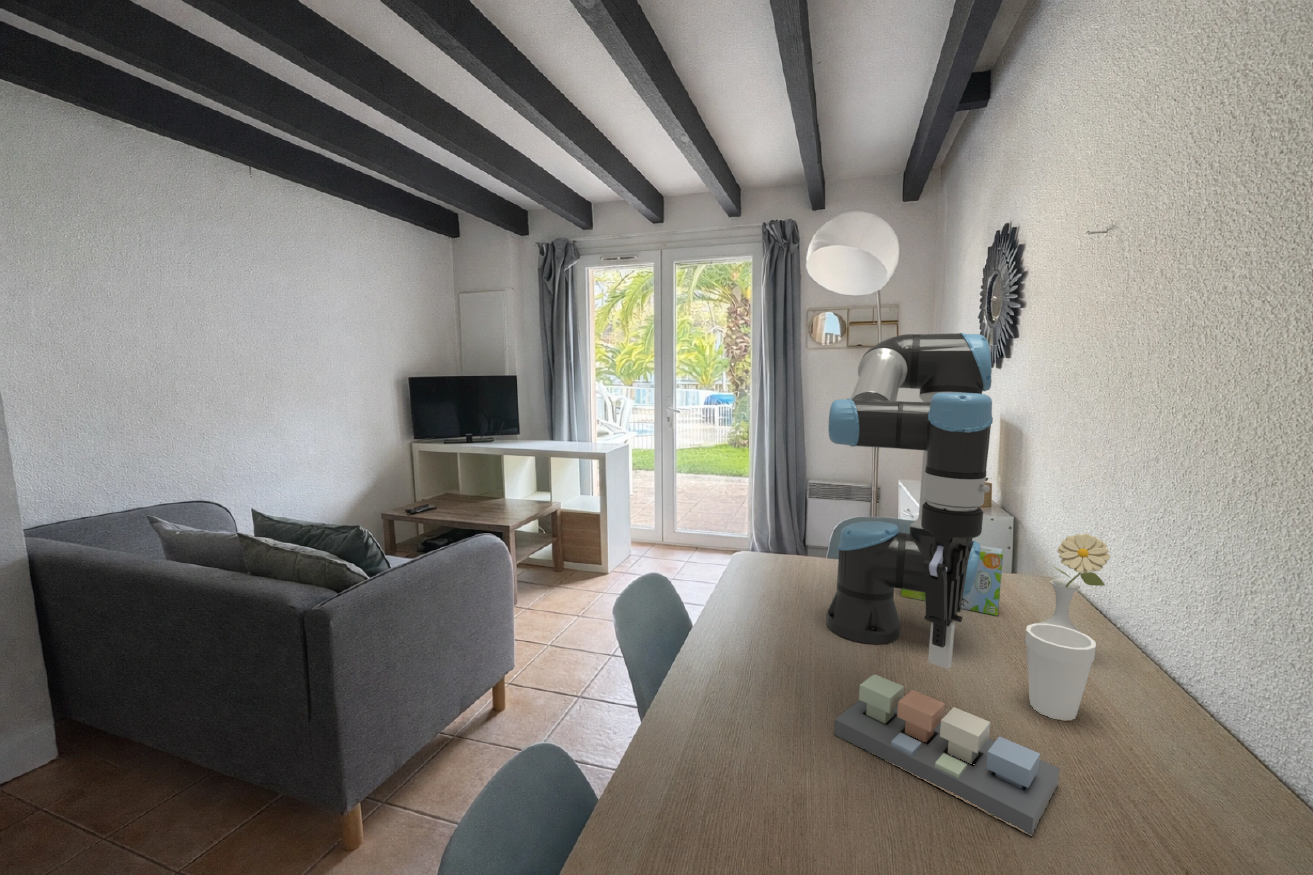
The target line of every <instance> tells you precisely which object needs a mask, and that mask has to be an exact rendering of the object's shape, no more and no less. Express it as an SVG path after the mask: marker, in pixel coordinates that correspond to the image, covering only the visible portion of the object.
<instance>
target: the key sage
mask: <svg viewBox="0 0 1313 875" xmlns="http://www.w3.org/2000/svg"><path fill="white" fill-rule="evenodd" d="M858 691H859V692H858V693H859V695H858V701H859V700H861V701H863V702H865V703H867V710H866V715H867V716H870V717H872V718H874V720H875V719H876V721H877V720H878V722H879V721H880V722H881V723H883V724H885V723H886V722H888V721H889V720H890V719H891V718H892V717H893V716H894V709H895V708H896V707H897V706H898V701H900V700H901V699H902V698H903V697H904V696H905V695H904V693H905V685H902V684H900V683H897V682H894V681H892V680H890V679H888V678H885V677H883V676H880V675H877V674H874V673H873V674H872V675H871V676H870V677H868V678H867V679H865V680H864V681H863V682H862V683H861V684H859V690H858ZM885 725H886V724H885Z"/></svg>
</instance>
